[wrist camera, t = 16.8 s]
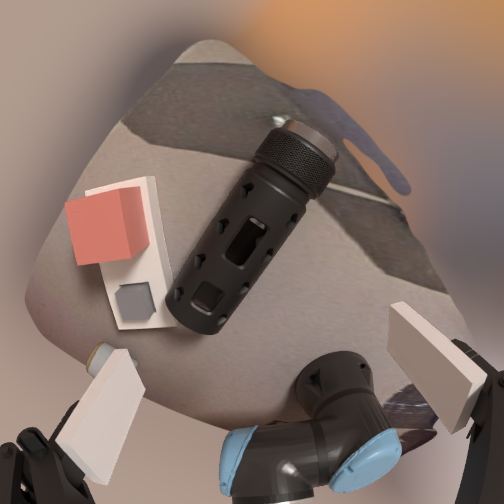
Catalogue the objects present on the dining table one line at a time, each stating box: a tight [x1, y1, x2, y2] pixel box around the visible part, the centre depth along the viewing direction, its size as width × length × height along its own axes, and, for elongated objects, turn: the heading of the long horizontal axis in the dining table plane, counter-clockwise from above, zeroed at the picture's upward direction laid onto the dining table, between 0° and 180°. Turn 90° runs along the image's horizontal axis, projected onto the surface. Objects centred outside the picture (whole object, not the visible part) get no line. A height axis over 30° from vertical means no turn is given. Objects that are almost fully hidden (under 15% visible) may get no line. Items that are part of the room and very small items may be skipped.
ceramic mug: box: [86, 342, 139, 378], centre depth 43 cm, size 11×8×8 cm
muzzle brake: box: [165, 120, 339, 335], centre depth 36 cm, size 10×28×10 cm, turn 146°
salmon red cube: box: [65, 186, 150, 266], centre depth 32 cm, size 8×8×7 cm
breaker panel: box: [85, 176, 178, 330], centre depth 39 cm, size 22×10×4 cm, turn 7°
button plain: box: [115, 282, 156, 321], centre depth 38 cm, size 4×4×4 cm
